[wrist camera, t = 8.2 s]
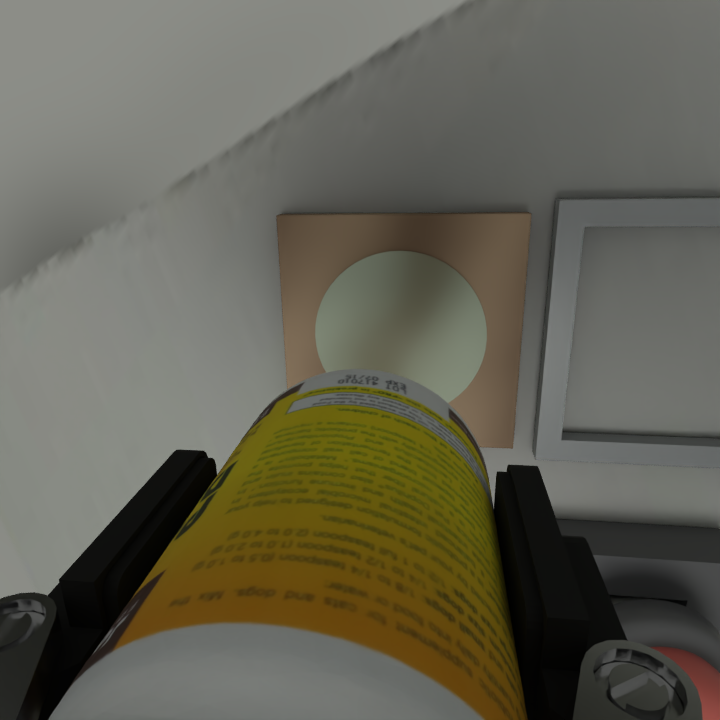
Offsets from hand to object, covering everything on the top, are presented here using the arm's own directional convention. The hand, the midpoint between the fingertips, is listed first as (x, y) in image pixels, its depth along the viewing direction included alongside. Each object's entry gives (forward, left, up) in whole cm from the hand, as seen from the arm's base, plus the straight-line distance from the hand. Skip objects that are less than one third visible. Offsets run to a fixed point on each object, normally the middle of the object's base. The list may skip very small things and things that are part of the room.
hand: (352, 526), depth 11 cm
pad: (0, 0, -14) cm, 14 cm away
